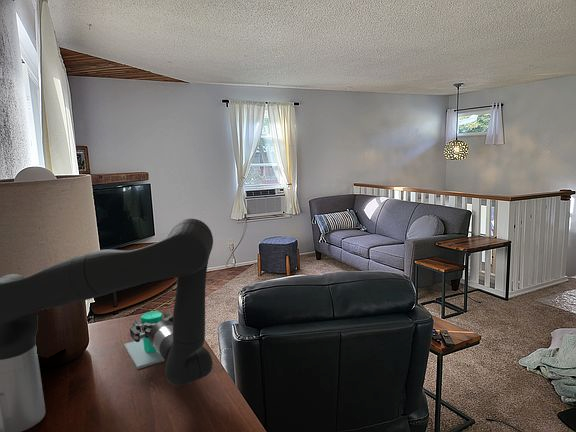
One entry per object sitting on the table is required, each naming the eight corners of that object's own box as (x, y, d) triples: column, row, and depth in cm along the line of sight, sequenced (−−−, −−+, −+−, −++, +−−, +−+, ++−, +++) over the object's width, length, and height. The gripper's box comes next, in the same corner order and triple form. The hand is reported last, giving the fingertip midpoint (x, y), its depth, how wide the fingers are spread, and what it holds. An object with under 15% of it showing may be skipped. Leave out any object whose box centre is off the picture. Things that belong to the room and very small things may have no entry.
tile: (186, 353, 114) (186, 351, 114) (137, 369, 106) (137, 366, 106) (169, 333, 127) (169, 331, 127) (124, 346, 119) (124, 343, 119)
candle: (151, 354, 112) (147, 315, 110) (140, 348, 116) (136, 311, 114) (168, 346, 116) (165, 309, 115) (157, 341, 120) (154, 304, 118)
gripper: (191, 319, 107) (173, 301, 120) (138, 333, 99) (124, 313, 112) (193, 344, 108) (174, 324, 121) (141, 360, 100) (127, 337, 113)
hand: (150, 318), depth 116 cm, fingers open, 8 cm apart
